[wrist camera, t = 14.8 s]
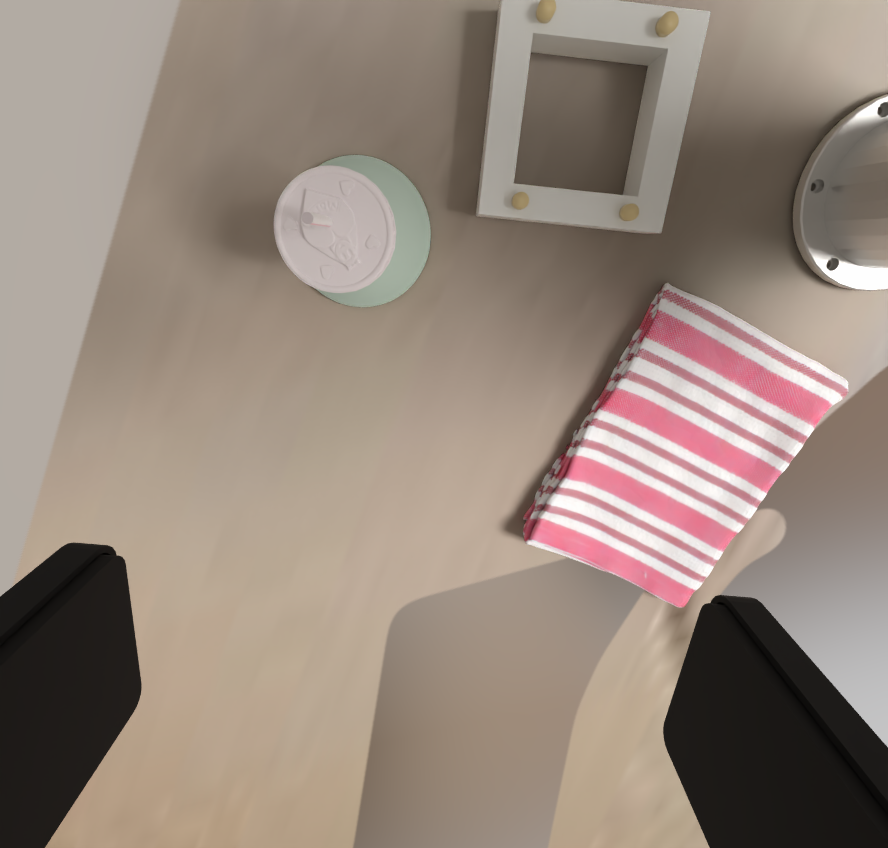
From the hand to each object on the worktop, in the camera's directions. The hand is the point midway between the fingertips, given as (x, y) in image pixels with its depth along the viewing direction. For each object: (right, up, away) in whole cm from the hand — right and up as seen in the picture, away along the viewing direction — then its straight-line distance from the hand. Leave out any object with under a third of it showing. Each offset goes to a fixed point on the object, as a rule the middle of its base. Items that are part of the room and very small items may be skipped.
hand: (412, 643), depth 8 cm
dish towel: (+19, +1, +35) cm, 40 cm away
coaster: (-5, +17, +28) cm, 33 cm away
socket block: (+9, +23, +26) cm, 36 cm away
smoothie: (-5, +17, +28) cm, 33 cm away
